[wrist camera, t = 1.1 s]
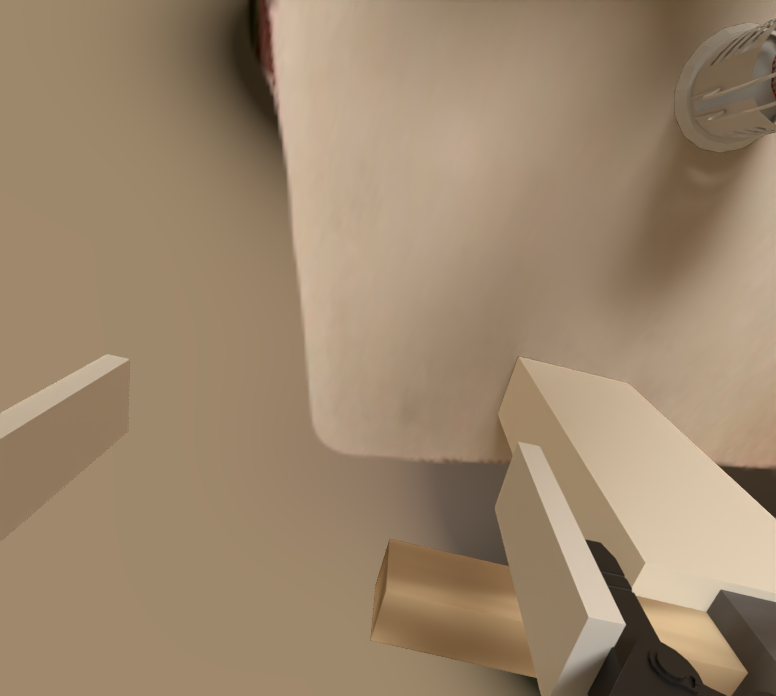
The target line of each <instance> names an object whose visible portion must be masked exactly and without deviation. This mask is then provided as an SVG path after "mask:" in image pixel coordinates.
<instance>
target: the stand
mask: <svg viewBox="0 0 776 696" xmlns="http://www.w3.org/2000/svg"><path fill="white" fill-rule="evenodd" d="M498 417H499V419H500V422H501V425H502V427H503V430H504V433H505V436H506V438H507V441H508V444H509V446H510V449H511V452H512V455H513V454H514V451H515V448H516V445H517V442H522V443H527V444H531V445H536V446H540V447H541V449H542V452H543V454H544V456H545V458H546V460H547V462H548V464H549V466H550V468H551V470H552V472H553V474H554V476H555V479H556V481H557V483H558V485H559V487H560V489H561V491H562V493H563V495H564V497H565V499H566V501H567V503H568V506H569V508H570V510H571V512H572V514H573V516H574V518H575V520H576V522H577V524H578V526H579V528H580V530H581V533H582V535H583V537H584V539H586V540H591V541H596V542H601V543H602V544H603V546H604V547H605V548H606V549H607V550H608V551H609V552H610V553H611V554H612V555H613V556H614V557H615V558H616V560H617V562H618V564H619V565H620V567H621V569H622V571H623V573H624V575H625V578H626V579H627V580H628V582H629V584H630V586H631V588H632V592H634V593H635V595H636V596H640V597H644V598H648V599H653V600H657V601H661V602H666V603H670V604H674V605H679V606H683V607H687V608H692V609H696V610H700V611H705V612H707V610H708V608H709V607H710V605H711V604H712V602H713V601H714V599H715V598H716V596H717V594H718V593H719V591H720V590H721V589H722V590H726V591H730V592H734V593H739V594H743V595H747V596H752V597H756V598H760V599H765V600H769V601H773V602H776V519H775V518H774V517H773V516H772V515H771V514H770V513H769V512H767V511H766V510H765V509H764V508H763V507H762V506H761V505H760V504H759V503H758V502H757V501H756V500H754V499H753V498H752V497H751V496H750V495H749V494H748V493H747V492H746V491H745V490H744V489H742V488H741V487H740V486H739V485H738V484H737V483H736V482H735V481H734V480H733V479H732V478H730V476H728V475H727V474H726V473H725V472H724V471H723V470H722V469H721V468H720V467H719V466H718V465H716V464H715V463H714V462H713V461H712V460H711V459H710V458H709V457H708V456H707V455H706V454H705V453H703V452H702V451H701V450H700V449H699V448H698V447H697V446H696V445H695V444H694V443H693V442H692V441H690V440H689V439H688V438H687V437H686V436H685V435H684V434H683V433H682V432H681V431H680V430H678V429H677V428H676V427H675V426H674V425H673V424H672V423H671V422H670V421H669V420H668V419H667V418H665V417H664V416H663V415H662V414H661V413H660V412H659V411H658V410H657V409H656V408H655V407H654V406H652V405H651V404H650V403H649V402H648V401H647V400H646V399H645V398H644V397H643V396H642V395H640V394H639V393H638V392H637V391H636V390H635V389H634V388H633V387H632V386H631V385H630V384H629V383H626V382H622V381H617V380H613V379H609V378H605V377H601V376H597V375H593V374H589V373H585V372H581V371H577V370H573V369H569V368H565V367H560V366H556V365H552V364H548V363H544V362H540V361H536V360H532V359H528V358H524V357H520V356H518V359H517V362H516V365H515V367H514V370H513V373H512V376H511V378H510V381H509V384H508V387H507V389H506V392H505V395H504V398H503V401H502V403H501V406H500V409H499V412H498Z"/></svg>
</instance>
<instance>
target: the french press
mask: <svg viewBox="0 0 776 696" xmlns="http://www.w3.org/2000/svg"><path fill="white" fill-rule="evenodd" d="M772 22H774V23H773V24H772V25H769V24H771V23H772ZM767 23H768V24H767ZM765 24H766V25H765ZM675 117H676V120H677V122H678V124H679V126H680V129H681V131H682V133H683V135H684V136H685V137H686V138H687V139H689V140H690V141H691V142H692V143H694V144H695V145H696V146H697V147H699V148H700V149H705V150H710V151H715V152H720V153H722V152H726V151H731V150H736V149H741V148H744V147H746V146H748V145H749V144H751V143H752V142H754V141H756V140H757V139H759V138H761V137H762V136H764V135H765V134H771V133H775V132H776V124H775V123H776V19H774V20H770V21H768V22H766V23H764V24H763V25H759V24H754V23H750V22H748V23H744V24H739V25H735V26H731V27H727V28H723V29H722V30H720V31H719V32H717V33H716V34H714V35H713V36H712V37H710V38H709V39H707V40H706V41H704V42H703V43H701V44H700V45H699V47H698V48H697V49H696V51H695V52H694V53H693V55H692V56H691V57H690V58H689V60H688V61H687V62H686V64H685V65H684V66H683V69H682V72H681V75H680V78H679V80H678V83H677V86H676V89H675ZM769 130H770V131H769Z"/></svg>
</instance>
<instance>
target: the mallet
mask: <svg viewBox="0 0 776 696" xmlns="http://www.w3.org/2000/svg"><path fill="white" fill-rule="evenodd" d="M636 597H637V599H638V601H639V602H640V604H641V606H642V608H643V610H644V612H645V614H646V615H647V617H648V619H649V621H650V623H651V625H652V627H653V628H654V630H655V632H656V634H657V636H658V638H659V640H660V641H661V642H662V643H664V644H666V645H667V646H669V647H671V648H673V649H674V650H676V651H677V652H678V653H679V654H681V655H682V656H683V657H684V658H685V659H687V660H688V661H689V663H690V664H691V665H692V666H693V667H694V669H695V670H696V671H697V672H698V674H699V676H700V678H701V680H702V682H703V684H705V685H706V686H708V687H710V688H712V689H714V690H716V691H718V692H720V693H722V694H725V695H727V696H750V695H751V694H753V693H754V692H756V691H762V692H769V693H771V694H774V695H776V602H773V601H769V600H765V599H760V598H756V597H752V596H747V595H743V594H739V593H734V592H730V591H726V590H722V589H721V590H720V591H719V593H718V594H717V596H716V598H715V599H714V601H713V602H712V604H711V605H710V607H709V608H708V610H707V612H705V611H700V610H696V609H692V608H687V607H683V606H679V605H674V604H670V603H666V602H661V601H657V600H653V599H648V598H644V597H640V596H636ZM371 641H375V642H379V643H384V644H388V645H392V646H397V647H402V648H406V649H411V650H415V651H419V652H424V653H428V654H433V655H437V656H441V657H446V658H451V659H455V660H460V661H464V662H468V663H473V664H477V665H482V666H487V667H491V668H495V669H500V670H504V671H508V672H513V673H517V674H522V675H526V676H531V677H535V678H537V676H536V672H535V668H534V664H533V660H532V656H531V652H530V648H529V644H528V640H527V636H526V632H525V628H524V624H523V620H522V616H521V612H520V608H519V604H518V600H517V596H516V592H515V588H514V584H513V580H512V576H511V572H510V568H509V566H505V565H501V564H497V563H492V562H488V561H484V560H480V559H475V558H471V557H466V556H462V555H458V554H453V553H449V552H445V551H441V550H436V549H432V548H428V547H423V546H419V545H415V544H410V543H406V542H402V541H397V540H393V539H389V543H388V546H387V549H386V553H385V556H384V559H383V562H382V566H381V569H380V572H379V576H378V579H377V582H376V587H375V597H374V608H373V619H372V629H371Z"/></svg>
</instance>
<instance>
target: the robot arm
mask: <svg viewBox="0 0 776 696" xmlns="http://www.w3.org/2000/svg"><path fill="white" fill-rule="evenodd" d="M129 380H130V359H126V358H122V357H117V356H112V355H108V354H106V355H105V356H103V357H101V358H99V359H97V360H96V361H94V362H92V363H90V364H88V365H87V366H85V367H83V368H81V369H79V370H78V371H76V372H74V373H72V374H70V375H68V376H67V377H65V378H63V379H61V380H59V381H58V382H56V383H54V384H52V385H50V386H49V387H47V388H45V389H43V390H42V391H40V392H38V393H36V394H34V395H32V396H30V397H29V398H27V399H25V400H23V401H21V402H20V403H18V404H16V405H14V406H12V407H11V408H9V409H7V410H5V411H3V412H2V413H0V542H1V541H2V540H3V539H4V538H5V537H7V536H8V535H9V534H10V533H11V532H13V531H14V530H15V529H16V528H17V527H18V526H19V525H20V524H22V523H23V522H24V521H25V520H26V519H28V518H29V517H30V516H31V515H32V514H33V513H34V512H36V511H37V510H38V509H39V508H40V507H41V506H43V505H44V504H45V503H46V502H47V501H48V500H50V499H51V497H53V496H54V495H55V494H56V493H58V492H59V491H60V490H61V489H62V488H63V487H65V486H66V485H67V484H68V483H69V482H70V481H72V480H73V479H74V478H75V477H76V476H77V475H78V474H80V473H81V472H82V471H83V470H84V469H85V468H87V467H88V466H89V465H90V464H91V463H92V462H93V461H95V460H96V459H97V458H98V457H99V456H100V455H102V454H103V453H104V452H105V451H106V450H107V449H109V448H110V447H111V446H112V445H113V444H114V443H115V442H117V441H118V440H119V439H120V438H121V437H122V436H124V435H125V434H126V433H127V432H128V431H129ZM495 512H496V516H497V520H498V524H499V528H500V532H501V536H502V540H503V544H504V548H505V552H506V556H507V560H508V564H509V568H510V572H511V576H512V580H513V584H514V588H515V592H516V596H517V600H518V604H519V608H520V612H521V616H522V620H523V624H524V628H525V632H526V636H527V640H528V644H529V648H530V652H531V656H532V660H533V664H534V668H535V672H536V676H537V680H538V684H539V689H540V693H541V696H727V695H725V694H722V693H720V692H718V691H716V690H714V689H712V688H710V687H708V686H706V685H705V684H703V682H702V680H701V678H700V676H699V674H698V672H697V671H696V670H695V669H694V667H693V666H692V665H691V664H690V663H689V661H688V660H687V659H685V658H684V657H683V656H682V655H681V654H679V653H678V652H677V651H676V650H674V649H673V648H671V647H669V646H667V645H666V644H664V643H662V642H661V641H660V640H659V638H658V636H657V634H656V632H655V630H654V628H653V627H652V625H651V623H650V621H649V619H648V617H647V615H646V614H645V612H644V610H643V608H642V606H641V604H640V602H639V601H638V599H637V597H636V595H635V593H634V592H632V588H631V586H630V584H629V582H628V580H627V579H626V578H625V575H624V573H623V571H622V569H621V567H620V565H619V564H618V562H617V560H616V558H615V557H614V556H613V555H612V554H611V553H610V552H609V551H608V550H607V549H606V548H605V547H604V546H603V544H602V543H601V542H596V541H591V540H586V539H584V537H583V535H582V533H581V530H580V528H579V526H578V524H577V522H576V520H575V518H574V516H573V514H572V512H571V510H570V508H569V506H568V503H567V501H566V499H565V497H564V495H563V493H562V491H561V489H560V487H559V485H558V483H557V481H556V479H555V476H554V474H553V472H552V470H551V468H550V466H549V464H548V462H547V460H546V458H545V456H544V454H543V452H542V449H541V447H540V446H536V445H531V444H527V443H522V442H517V445H516V448H515V451H514V454H513V457H512V459H511V462H510V465H509V468H508V471H507V474H506V476H505V479H504V482H503V485H502V488H501V491H500V494H499V496H498V499H497V502H496V505H495ZM750 696H776V695H774V694H771V693H769V692H762V691H756V692H754V693H753V694H751V695H750Z"/></svg>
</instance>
